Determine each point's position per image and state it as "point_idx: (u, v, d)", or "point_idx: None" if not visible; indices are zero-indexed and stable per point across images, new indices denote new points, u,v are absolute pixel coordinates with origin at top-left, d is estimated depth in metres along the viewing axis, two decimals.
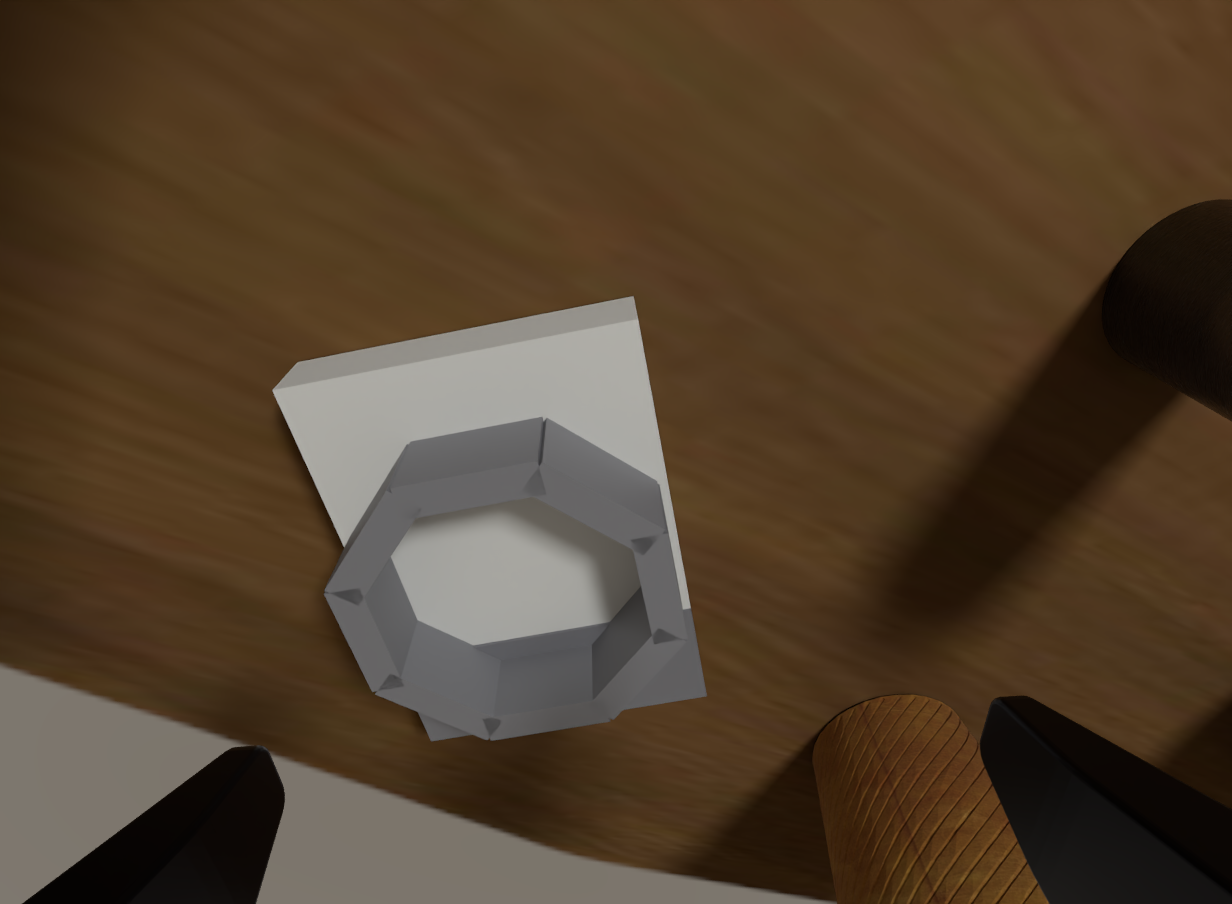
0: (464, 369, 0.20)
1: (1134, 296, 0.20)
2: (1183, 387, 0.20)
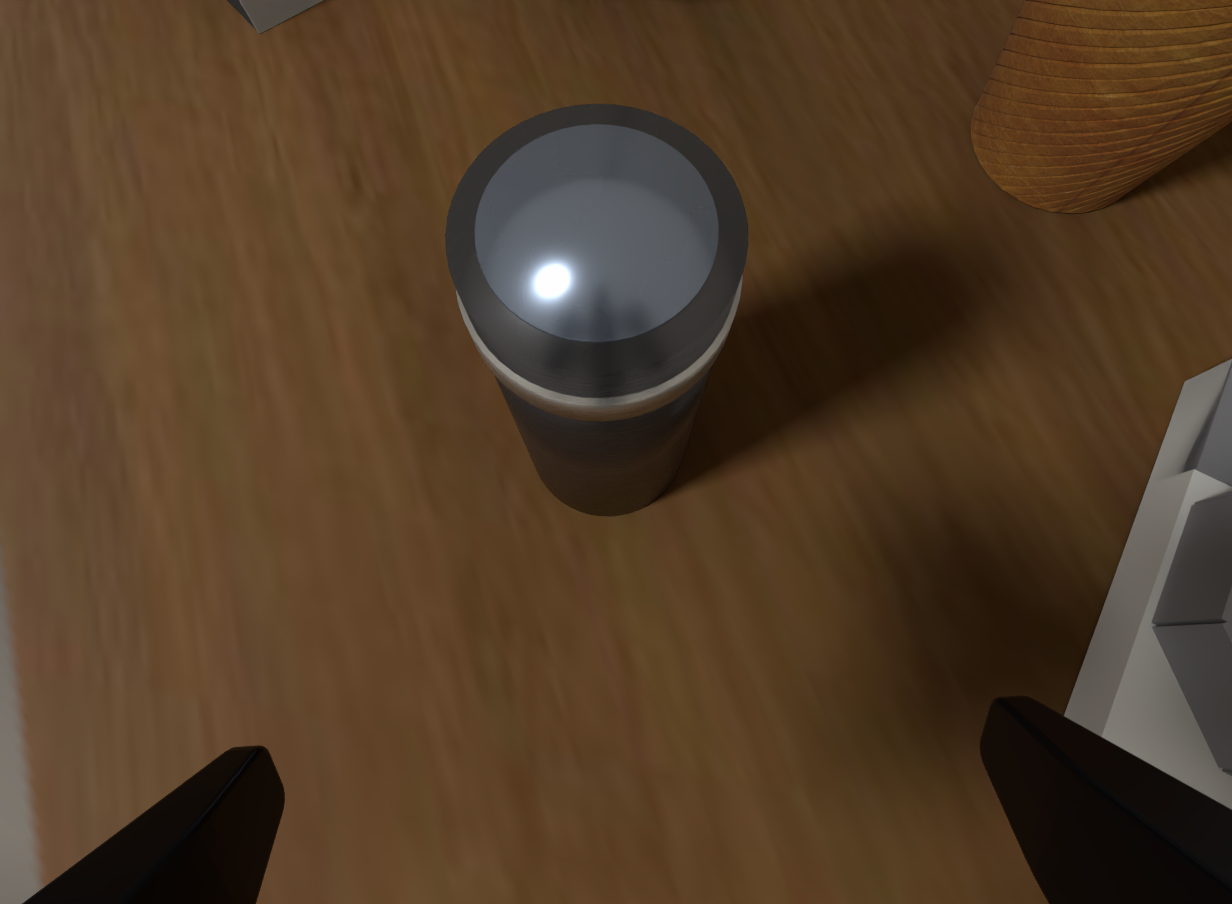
0: None
1: (667, 482, 0.23)
2: None
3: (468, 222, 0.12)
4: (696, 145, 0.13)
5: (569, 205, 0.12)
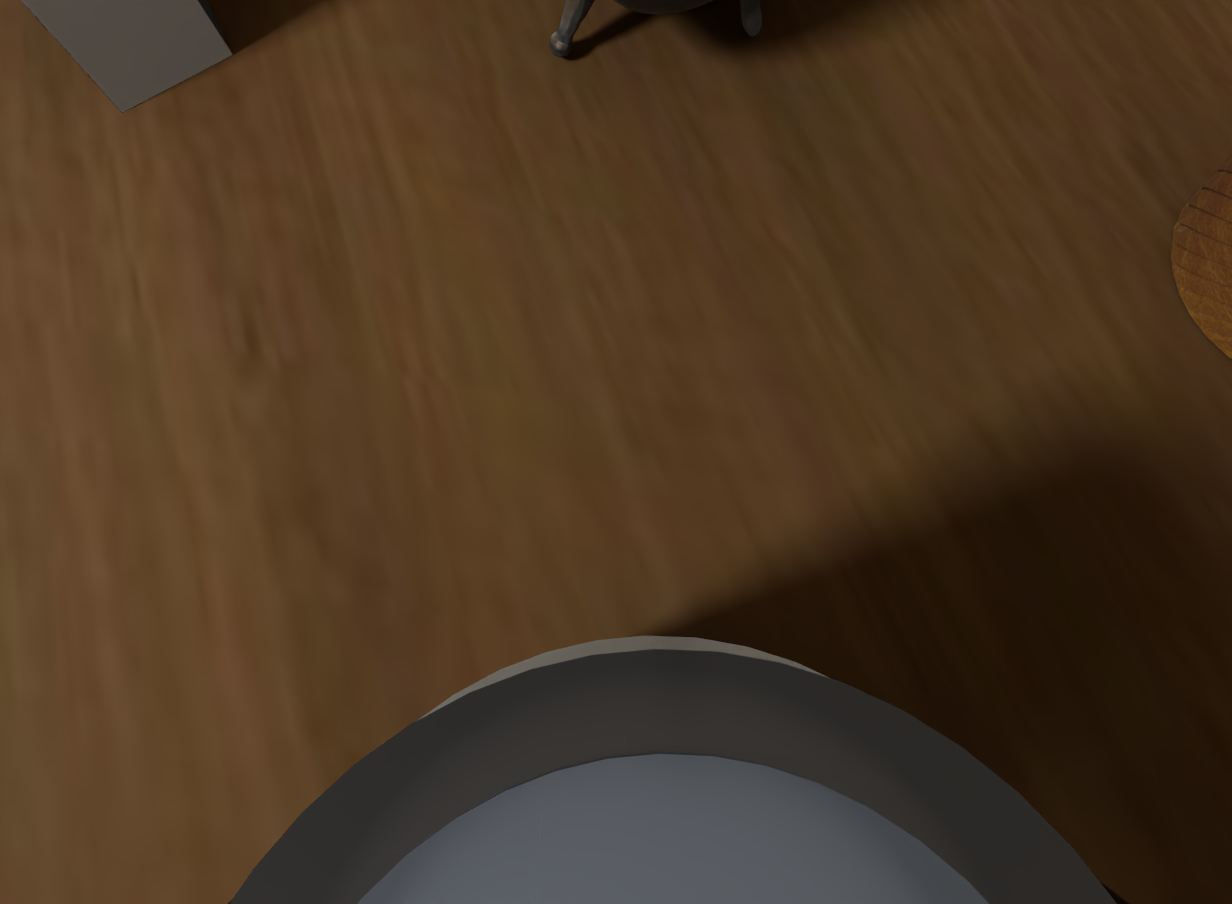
0: None
1: None
2: None
3: None
4: (1020, 831, 0.04)
5: None
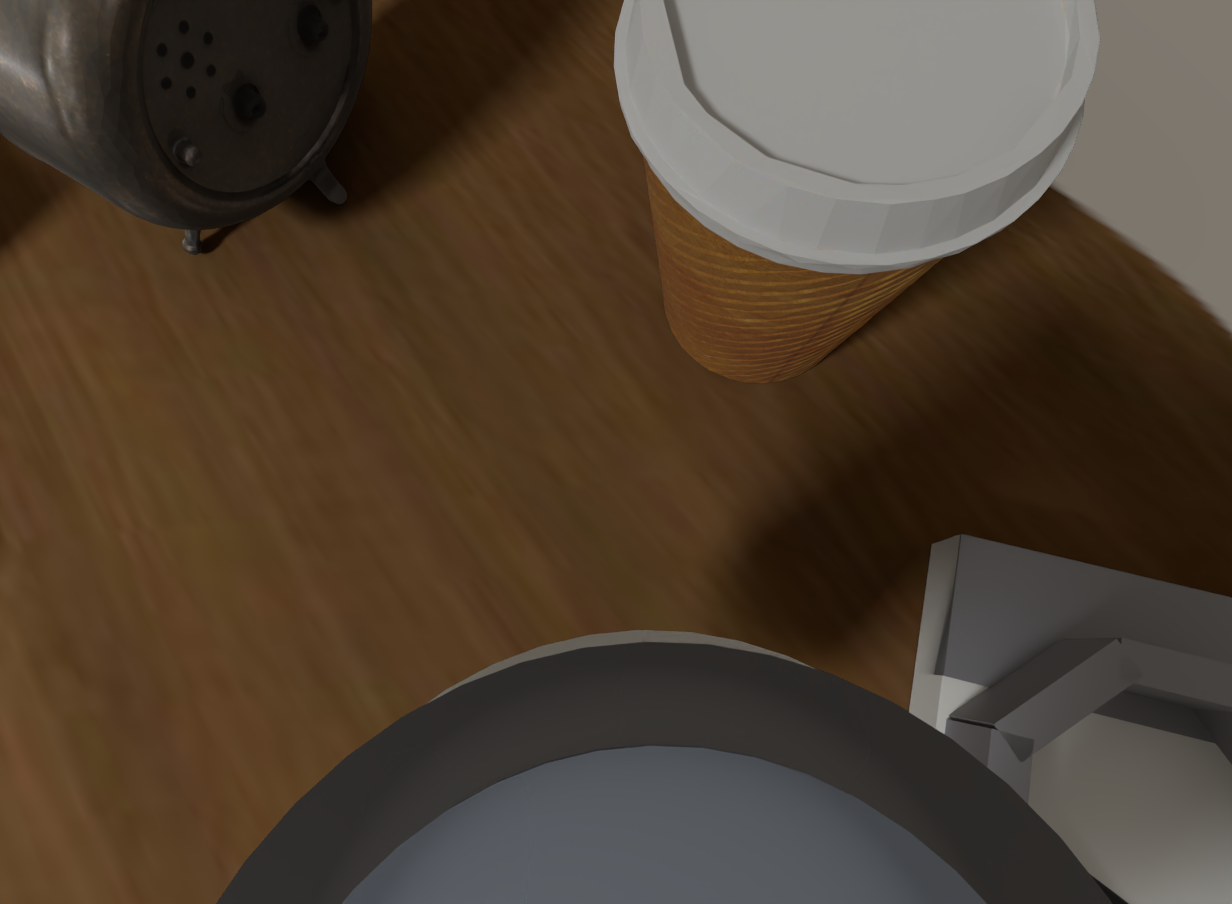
0: None
1: None
2: None
3: None
4: (1007, 821, 0.04)
5: None
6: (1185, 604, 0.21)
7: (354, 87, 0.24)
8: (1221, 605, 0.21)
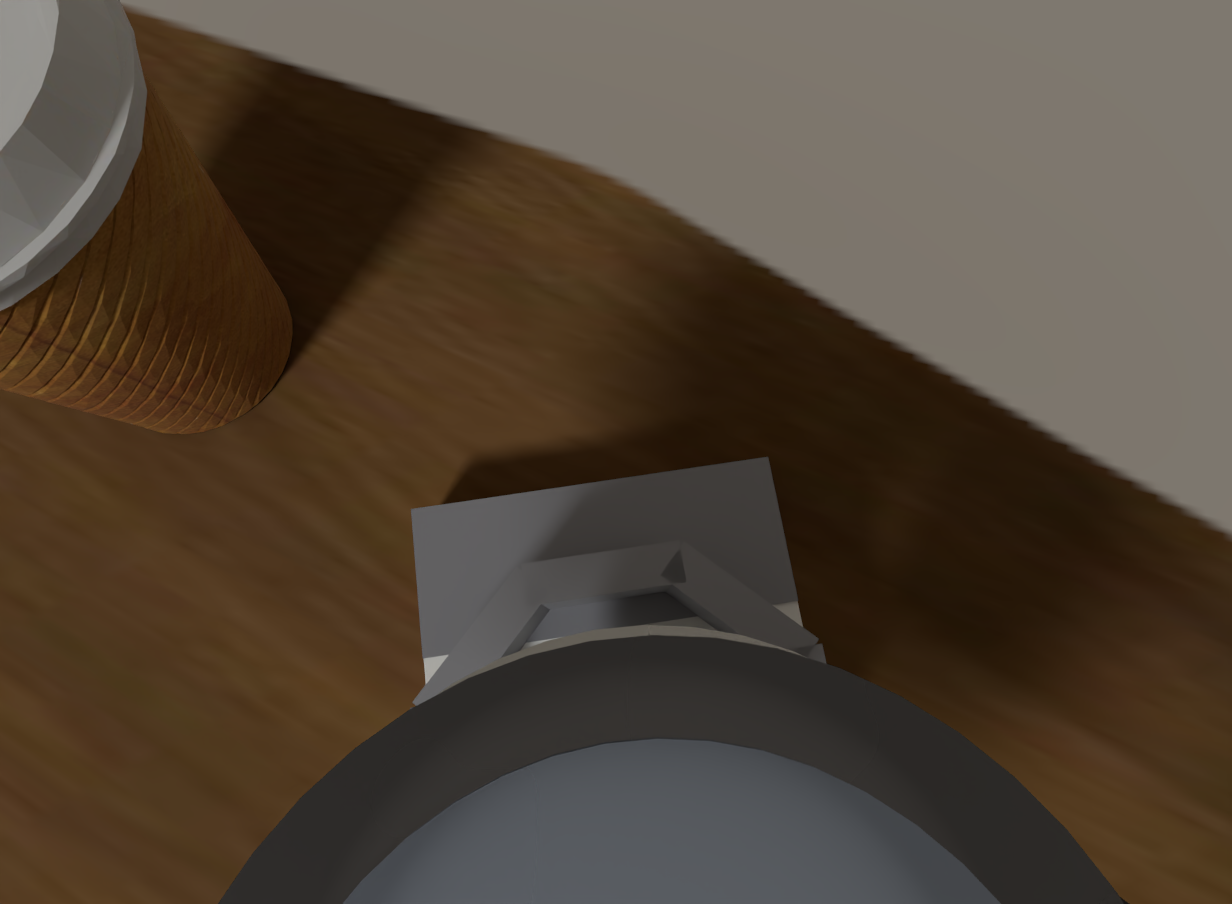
0: None
1: None
2: None
3: None
4: (1017, 816, 0.04)
5: None
6: (640, 493, 0.20)
7: None
8: (672, 481, 0.20)
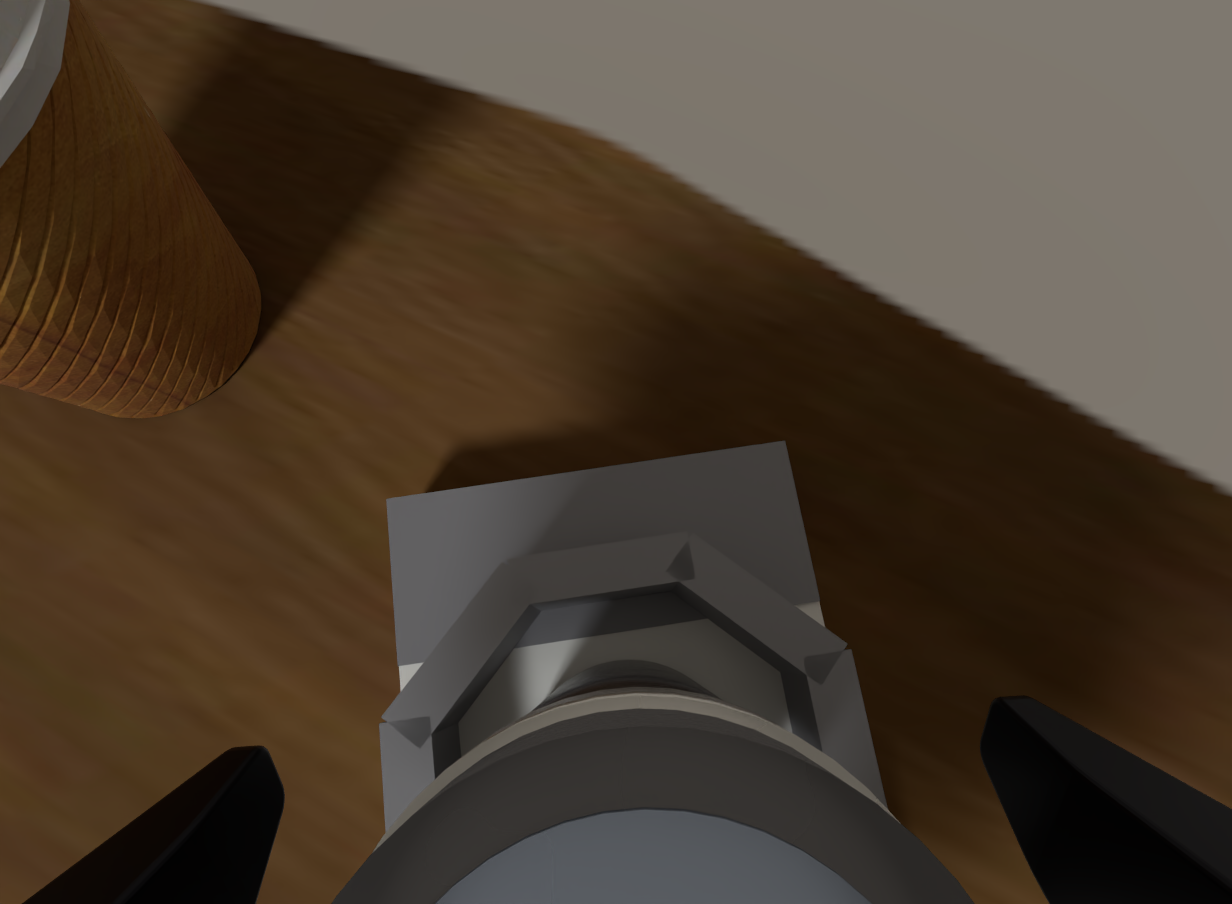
0: None
1: None
2: None
3: None
4: (916, 868, 0.05)
5: None
6: (642, 481, 0.18)
7: None
8: (678, 467, 0.18)
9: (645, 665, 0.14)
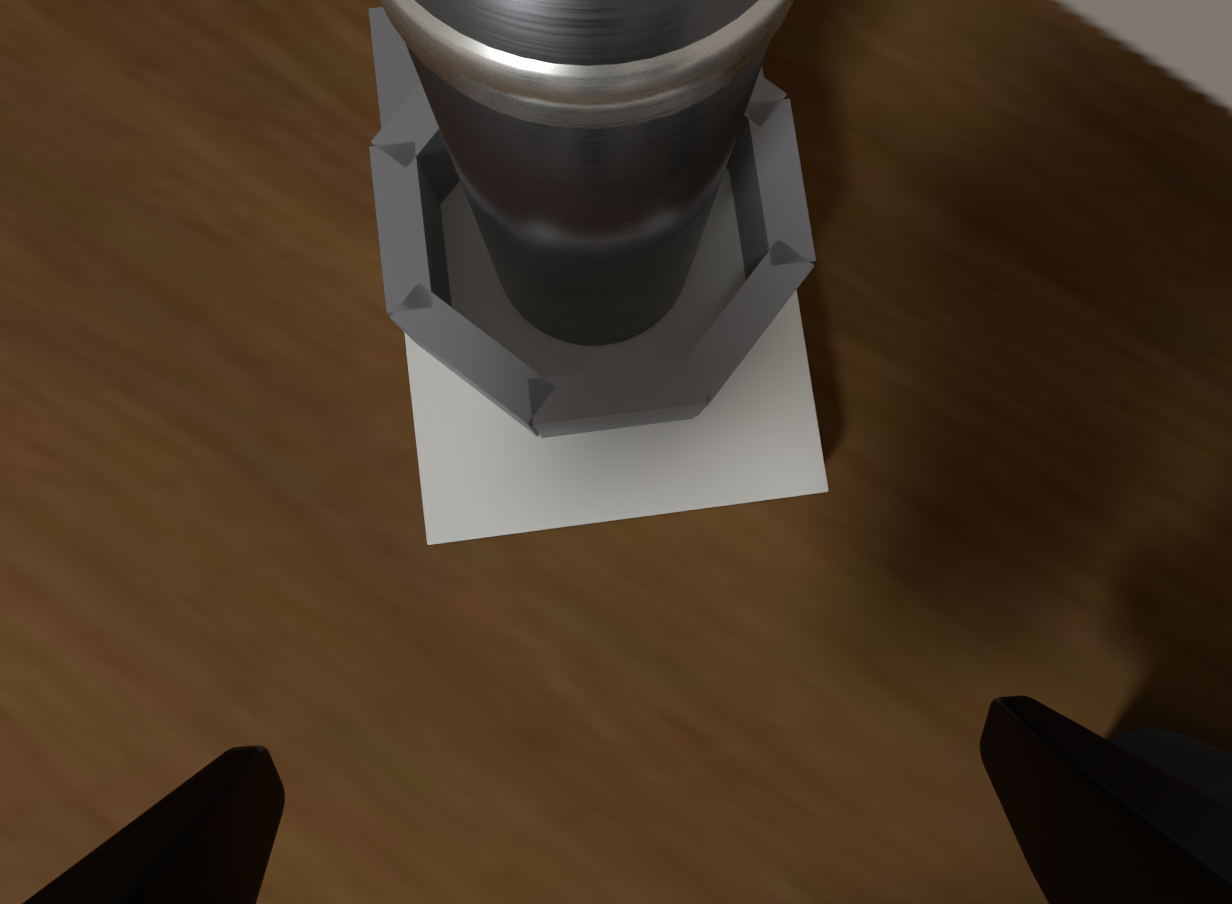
0: (619, 500, 0.18)
1: (669, 301, 0.18)
2: None
3: None
4: None
5: None
6: None
7: None
8: None
9: None
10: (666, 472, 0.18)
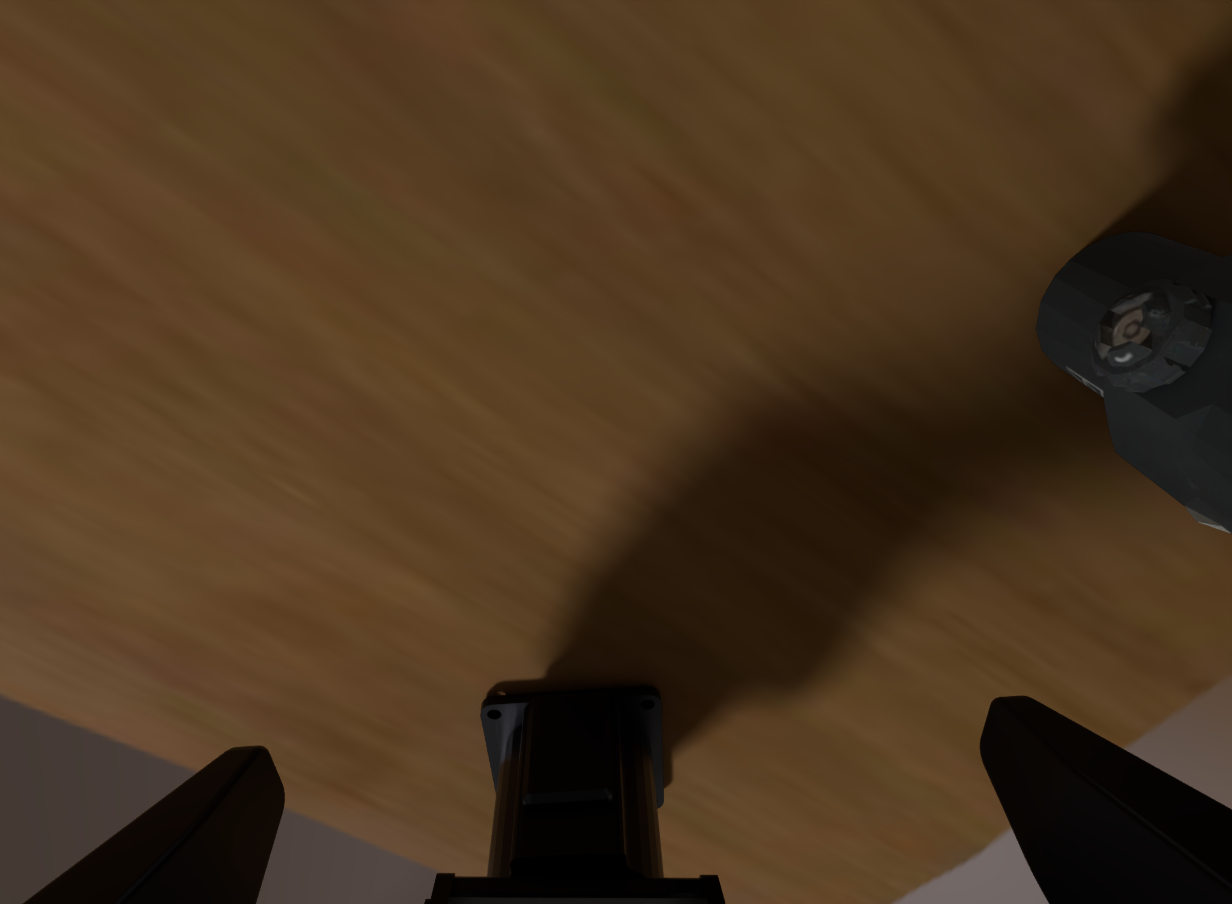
0: None
1: None
2: None
3: None
4: None
5: None
6: None
7: None
8: None
9: None
10: None
